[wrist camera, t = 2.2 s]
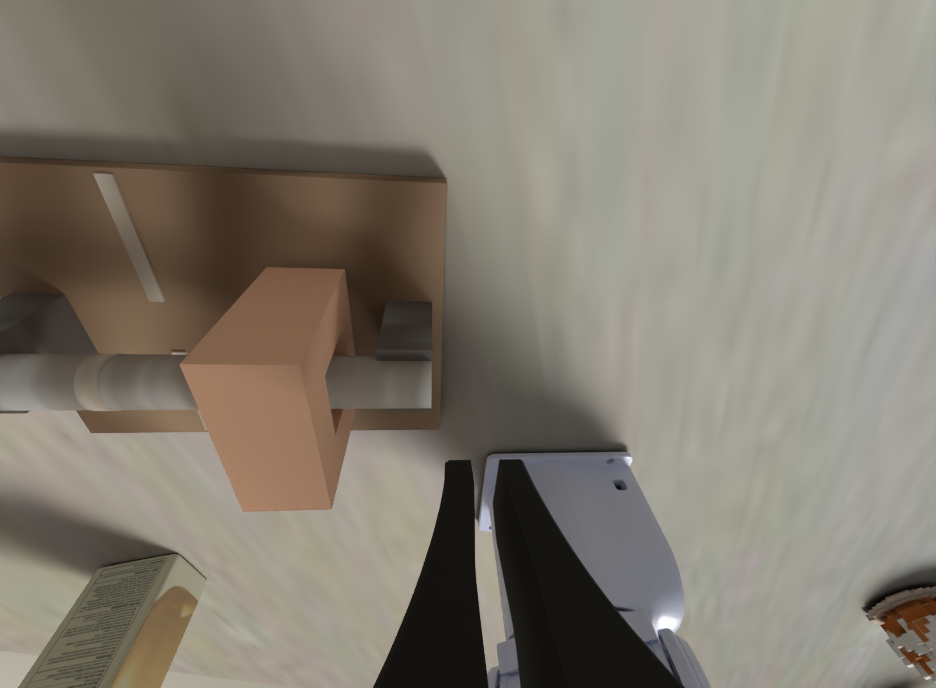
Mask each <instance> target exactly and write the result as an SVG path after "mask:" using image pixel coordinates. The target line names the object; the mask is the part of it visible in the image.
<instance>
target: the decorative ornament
mask: <svg viewBox="0 0 936 688" xmlns="http://www.w3.org/2000/svg"><path fill="white" fill-rule="evenodd" d="M885 598H886V599H885V600H882V601H881V603H878V604H876V605H877V606H875V607H872V610H869V611H868V612H869V613H870V614H868V615H865V616H866V617H867V618H868V619H869V621H870V622H871V623H873V624H874V625H875V626H877V625H879V624H881V625H880V626H881V627H882V628H883V629H884V631H885V632H886V633H887V634H888V636H889V638H890V639H888V640H886V641H887V642H888V644H889V645H890V647H891V648H892V649H893V650H894V652H895V653H896V654H897V655H898V657H899V658H900V659H901V660H902V661H903V662H904V663H905V665H906V666H907V667H909V668H911V667H915V668H916V669H917V670H918V671H919V673H920V674H921V675H922V676H923V677H924V678H925V679H926V680H927V679H931V678H932V679H933V681H934V682H935V683H936V586H935V587H932V588H929V587H927V588H924V589H923V588H922V587H921V588H919V589H916V590H915V589H912V590H904V591H901V592H898V593H896V594H893V595H890V596H888V597H885Z"/></svg>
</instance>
